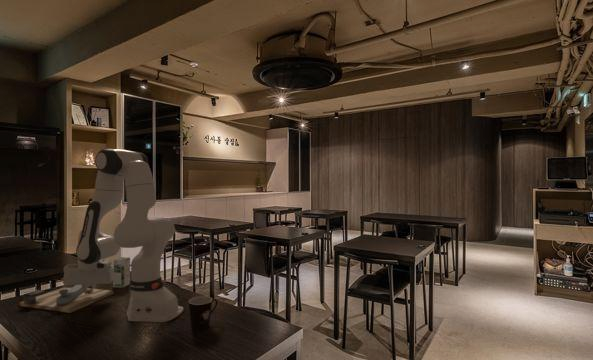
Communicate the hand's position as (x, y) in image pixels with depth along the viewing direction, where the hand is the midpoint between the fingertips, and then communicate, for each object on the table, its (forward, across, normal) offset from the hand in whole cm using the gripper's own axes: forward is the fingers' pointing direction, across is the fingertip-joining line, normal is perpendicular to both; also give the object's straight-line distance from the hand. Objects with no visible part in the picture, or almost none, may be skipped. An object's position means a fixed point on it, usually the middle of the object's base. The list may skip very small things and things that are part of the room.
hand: (88, 293), depth 152 cm
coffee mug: (+3, +54, -36) cm, 65 cm away
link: (+1, -7, 0) cm, 7 cm away
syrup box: (+3, +8, +18) cm, 20 cm away
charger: (+3, -10, +23) cm, 25 cm away
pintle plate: (+3, -9, +1) cm, 9 cm away
